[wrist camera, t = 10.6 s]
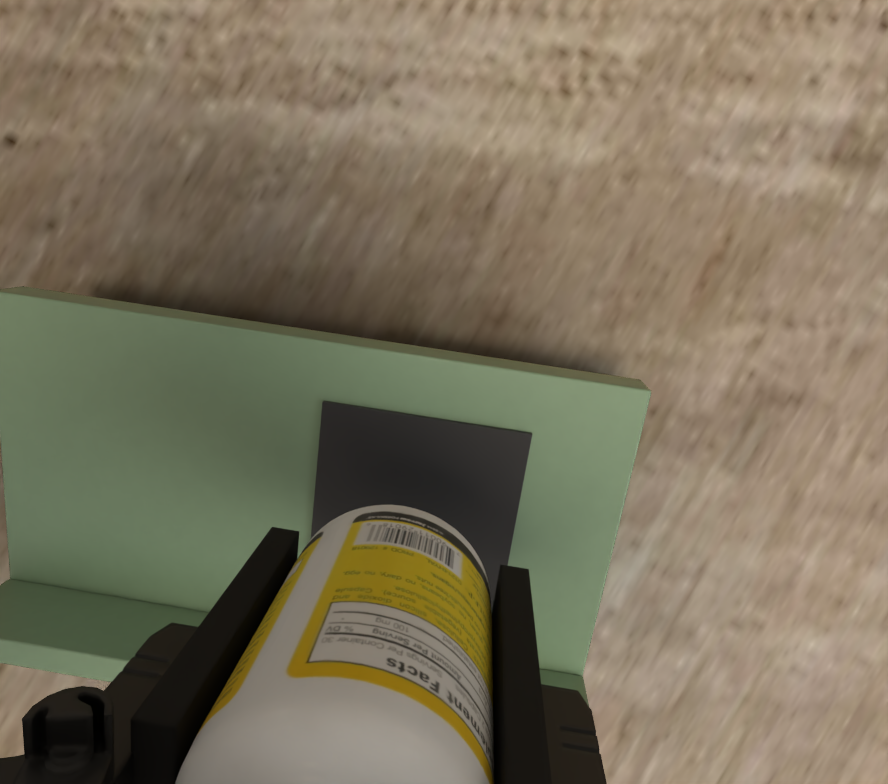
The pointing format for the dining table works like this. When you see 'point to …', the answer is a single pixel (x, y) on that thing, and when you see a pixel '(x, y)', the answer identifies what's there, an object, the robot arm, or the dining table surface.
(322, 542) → the supplement bottle
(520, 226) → the dining table surface
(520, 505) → the green l-shaped stand
